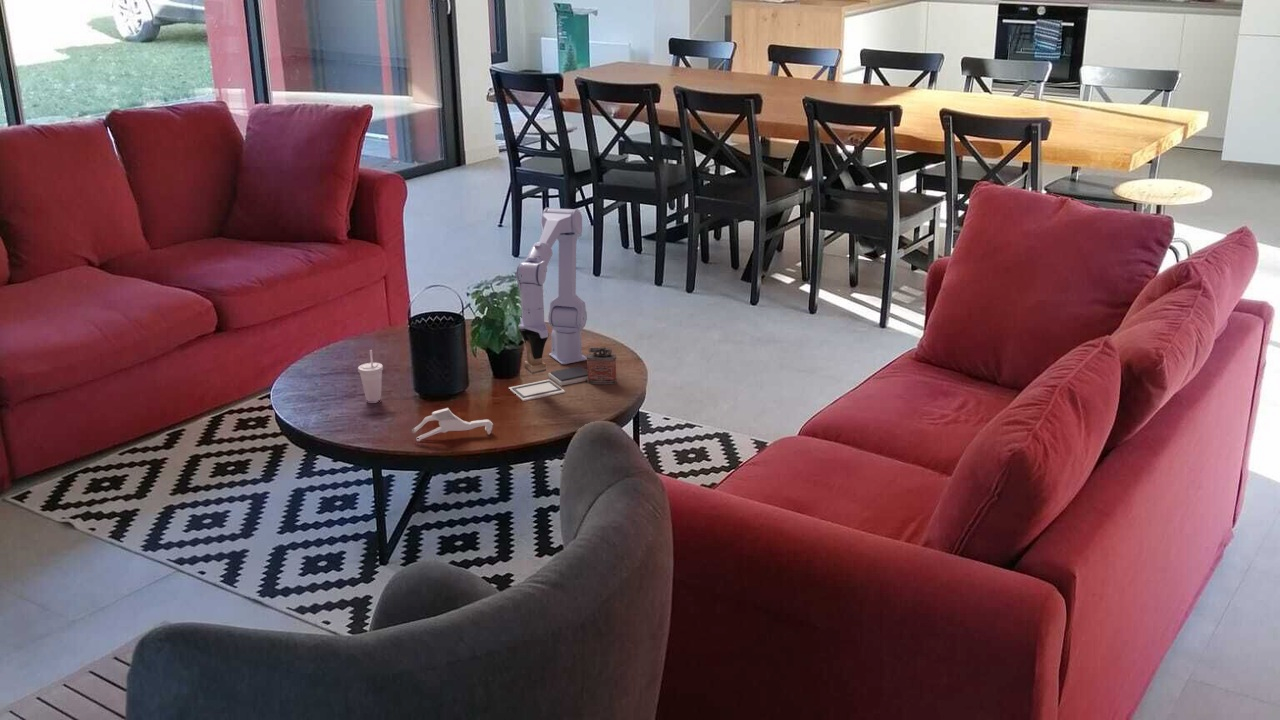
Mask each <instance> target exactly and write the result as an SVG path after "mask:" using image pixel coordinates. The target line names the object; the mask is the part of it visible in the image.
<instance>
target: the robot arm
mask: <svg viewBox="0 0 1280 720" xmlns="http://www.w3.org/2000/svg"><path fill="white" fill-rule="evenodd" d="M541 225H542V231H541V233H540V237H539V240H538V242H537V241H536V242H535V243H533V244H532V246H531V248H530V249H529V252H528V254H527V256H526V257H525V260H524V261H522V262H520V263H519V264H518V265H517V267H516V275H515V278H516V282H517V284H518V285H517V286H518V291H520V297H521V298H520V299H521V316H522V318H521V317H520V322H519V324H518V326H517V327H518V328H519V330H518V331H519V333H520V335H521V337H522V339H523V341H524V344H525V346H526V341H527V340H529V341H530V344H531V348H532V354H533V357H534V359H539V358H542V359H543V354H544V349H545V345H546V344H547V343H546V342H547V340H548V339H549V337H550V336H551V337H550V338H551V341H550V342H551V352H550V353H548V356H550V357H551V358H552V359H554V360H555V361H556V362H557V363H560V364H561V365H568V364H574V363H578V362H582V361H583V362H585V361H587V356H585V355H584V354H582V353H583V351H582V330H584V328H585V327H586V324H587V320H588V313H587V308H586V306H587V305H586V301H584V300H583V299H582V298H581V297H579V296H578V295H577V291H576V290H577V288H576V287H577V271H576V270H577V238H579V237H582V233H583V215H582V213H581V211H580V210H579V209H578V208H574V209H572V208H556V207H549V206H548V207H545V208H544V209H543V211H542V214H541ZM556 241H558V288H557V289H558V290H557V293H558V295H557V296H556V297H554V298H553V299H552V300H551V301H550V303H549V309H548V310H549V311H548V315H547V317H548V319H547V320H548V324H549V326H550V327H552V330H551V335H550V333H549V329H548V328H547V325H546V322H545V306H544V283H545V281H546V277H547V272H548V265H549V263H550V261H551V259H552V256H553V252H554V251H553V249H552V247H553V246H554V244H555V242H556ZM519 274H522V277H521V275H519ZM518 279H520V280H518ZM522 297H523V298H522Z"/></svg>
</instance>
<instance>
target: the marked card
mask: <svg viewBox="0 0 1280 720" xmlns="http://www.w3.org/2000/svg"><path fill="white" fill-rule="evenodd" d="M509 389H510V390H509ZM508 390H509V391H511V392H512V394H514V395H515V394H516V395H515V396H517V398H519V399H520V400H522V401H523V402H525V401H530V400H535V399H536V400H537V399H541V398H544V397H551V396H555V395H559V394H565V393H566V390H564V388H561V386H560V385H559V384H557V383H556V382H555V381H553V380H552V379H551V378H549V379H544V380H539V381H535V382H529V383H525V384H520V385H514V386H508Z"/></svg>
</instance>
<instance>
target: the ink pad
mask: <svg viewBox="0 0 1280 720" xmlns="http://www.w3.org/2000/svg"><path fill="white" fill-rule="evenodd" d="M547 374H548V376H547V377H548V378H549V379H550V380H551V381H553V382H554V383H555V384H557V385H558V386H559V387H562V386H566V385H572V384H576V383H581V382H585V381H586V382H587V378H588V369H585V368H584V367H583V366H581V365H578V366H572V367H569V368H564V369H562V368H561V369H558V370H553V371H550V372H548V373H547Z"/></svg>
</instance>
